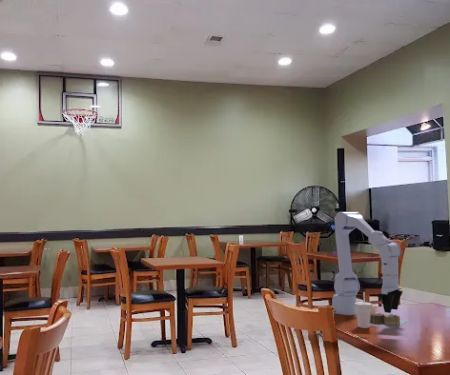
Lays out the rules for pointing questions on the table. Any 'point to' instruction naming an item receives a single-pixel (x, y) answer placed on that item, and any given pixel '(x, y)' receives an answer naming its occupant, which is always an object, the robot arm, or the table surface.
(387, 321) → the beech gear
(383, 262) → the robot arm
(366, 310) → the smoothie
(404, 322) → the gear board
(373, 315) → the walnut gear
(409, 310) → the table surface
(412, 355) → the table surface
